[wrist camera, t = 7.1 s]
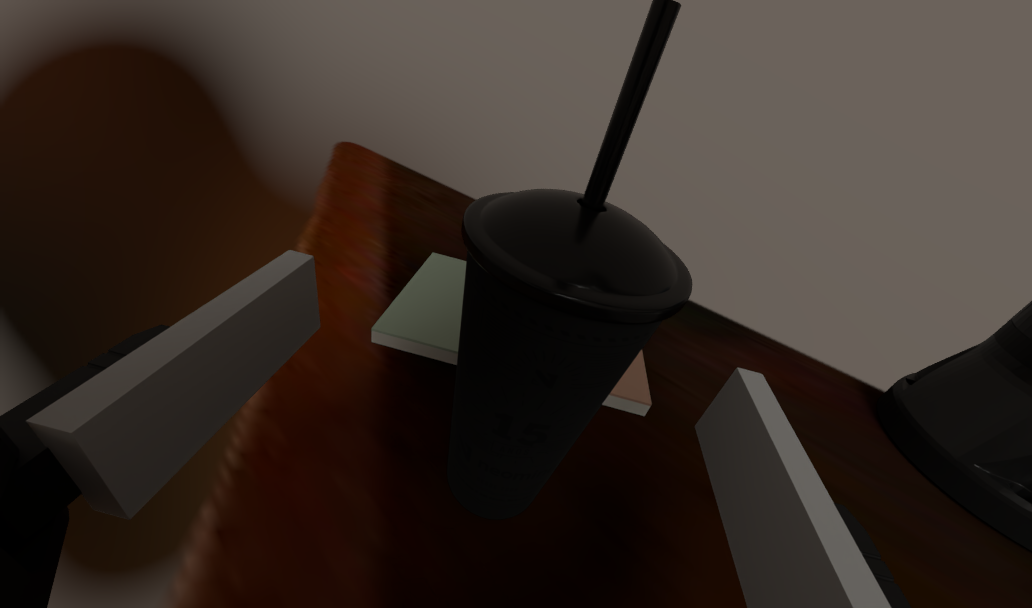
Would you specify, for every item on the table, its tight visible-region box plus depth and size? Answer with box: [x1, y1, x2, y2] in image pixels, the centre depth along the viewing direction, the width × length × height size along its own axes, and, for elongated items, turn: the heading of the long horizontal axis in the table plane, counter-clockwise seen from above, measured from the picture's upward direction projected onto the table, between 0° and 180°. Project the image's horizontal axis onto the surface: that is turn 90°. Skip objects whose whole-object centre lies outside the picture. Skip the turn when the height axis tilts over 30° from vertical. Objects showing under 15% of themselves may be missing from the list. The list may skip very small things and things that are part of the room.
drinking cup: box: [447, 0, 692, 519], centre depth 15 cm, size 8×8×20 cm
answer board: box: [372, 253, 652, 416], centre depth 31 cm, size 19×12×1 cm, turn 80°
